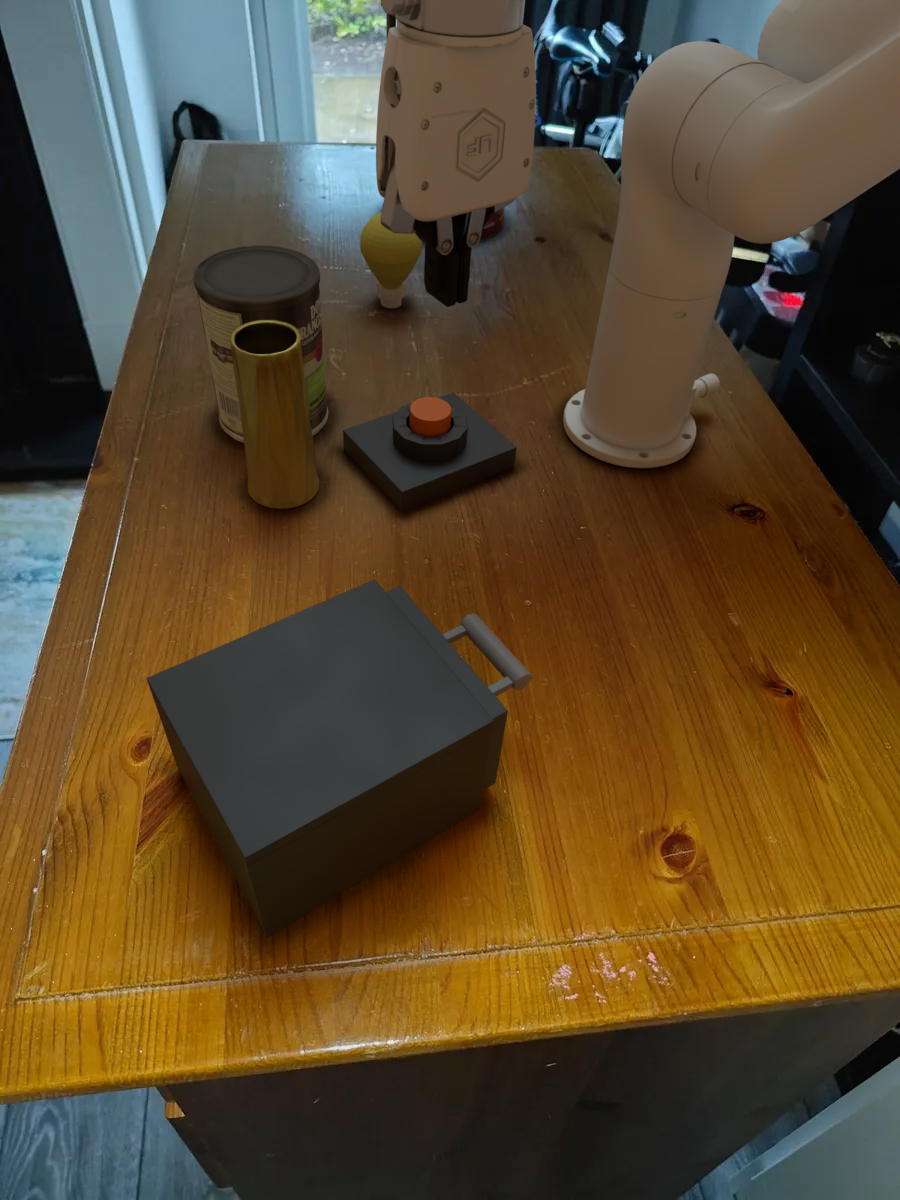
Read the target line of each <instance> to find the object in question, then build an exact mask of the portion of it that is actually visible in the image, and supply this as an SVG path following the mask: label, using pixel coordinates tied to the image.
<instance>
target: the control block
mask: <svg viewBox="0 0 900 1200" xmlns="http://www.w3.org/2000/svg"><path fill="white" fill-rule="evenodd" d="M437 398H439V399H442V400H444V401H446V402H447V403H448V404H449V405H450V407H451V426H450V429H449V431H448V432H447V433H445V434H442V435H439V436H423V435H420V434H417V433H414V432H413V431H412V430H411V428H410V406H411V404H412V403H413V402H411V403H408V404H404V405H402V406H401V407H400V408H399V409H398V410H397V411H395V412H392V413H388V414H386V415H383V416H380V417H377V418H375V419H371V420H369V421H365V422H362V423H360V424H356V425H354V426H351V427H348V428H345V429H343V430H342V442H343V451H344V452H345V453H346V454H347V455H348V456H349V457H350V458H351V459H352V460H353V461H354V462H355V463H356V465H357V466H358V467H359V468H360V469H361V470H362V471H363V472H364V473H365V474H366V475H367V476H368V477H369V478H370V480H371V481H372V482H374V484H376V486H377V487H378V488H379V489H380V490H381V491H382V492H383V493H384V494H385V495H386V496H387V497H388V499H389V500H390V501H391V502H392V503H393V504H394V505H395V506H396V507H397V508H398V510H399V511H401V512H405V511H407V510H410V509H413V508H414V507H418V506H420V505H422V504H425V503H427V502H429V501H433V500H435V499H437V498H439V497H443V496H444V495H447V494H449V493H452V492H455V491H457V490H459V489H462V488H465V487H467V486H469V485H472V484H474V483H477V482H480V481H482V480H484V479H488V478H489V477H492V476H495V475H497V474H500V473H502V472H504V471H506V470H510V469H511V468H515V464H516V463H515V462H516V456H517V446H516V445H515V444H513V443H512V442H511V441H510V440H509V439H507V438H506V436H504V435H503V434H502V433H501V432H500V431H499V430H497V428H495V427H494V426H493V425H492V424H491V423H489V422H488V421H487V420H486V419H484V418H483V416H481V415H480V413H477V411H476V410H474V409H473V408H472V407H471V406H469V405H468V404H467V403H466V402H465V401H464V400H463V399H462V398H460V397H459V396H458V395H457V394H456V393H455V392H450V393H448V394H444V395H441V396H438V397H437Z"/></svg>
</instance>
